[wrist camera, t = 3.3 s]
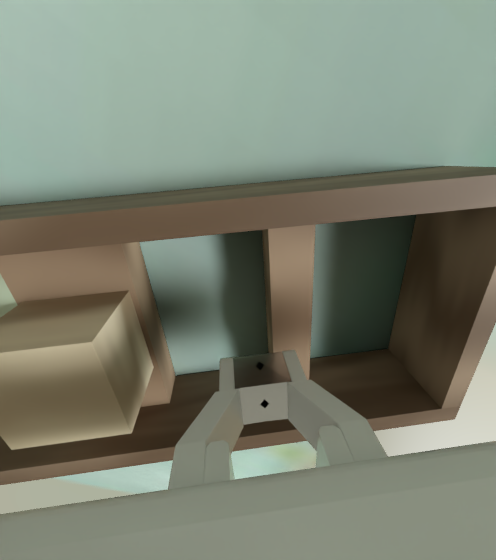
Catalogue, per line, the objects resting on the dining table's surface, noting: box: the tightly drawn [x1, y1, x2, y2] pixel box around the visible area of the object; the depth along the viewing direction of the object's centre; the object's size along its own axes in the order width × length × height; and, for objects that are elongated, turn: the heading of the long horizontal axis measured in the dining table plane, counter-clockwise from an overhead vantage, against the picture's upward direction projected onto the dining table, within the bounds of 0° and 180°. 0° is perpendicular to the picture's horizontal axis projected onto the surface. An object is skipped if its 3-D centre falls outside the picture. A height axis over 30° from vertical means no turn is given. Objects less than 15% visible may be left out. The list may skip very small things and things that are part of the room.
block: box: [0, 290, 154, 450], centre depth 10 cm, size 4×4×4 cm
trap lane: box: [0, 166, 496, 485], centre depth 12 cm, size 12×28×4 cm, turn 94°
